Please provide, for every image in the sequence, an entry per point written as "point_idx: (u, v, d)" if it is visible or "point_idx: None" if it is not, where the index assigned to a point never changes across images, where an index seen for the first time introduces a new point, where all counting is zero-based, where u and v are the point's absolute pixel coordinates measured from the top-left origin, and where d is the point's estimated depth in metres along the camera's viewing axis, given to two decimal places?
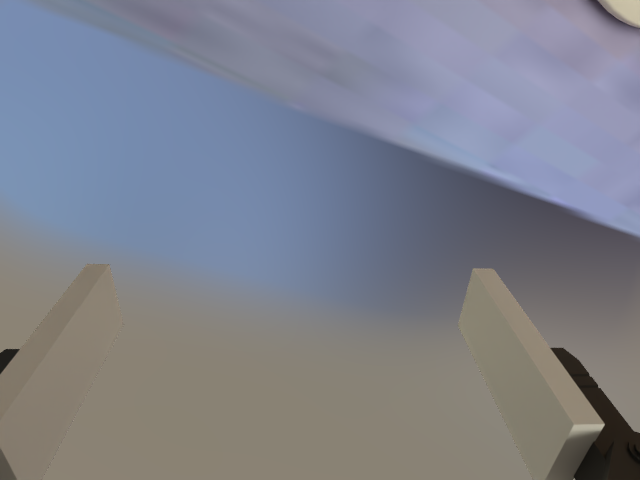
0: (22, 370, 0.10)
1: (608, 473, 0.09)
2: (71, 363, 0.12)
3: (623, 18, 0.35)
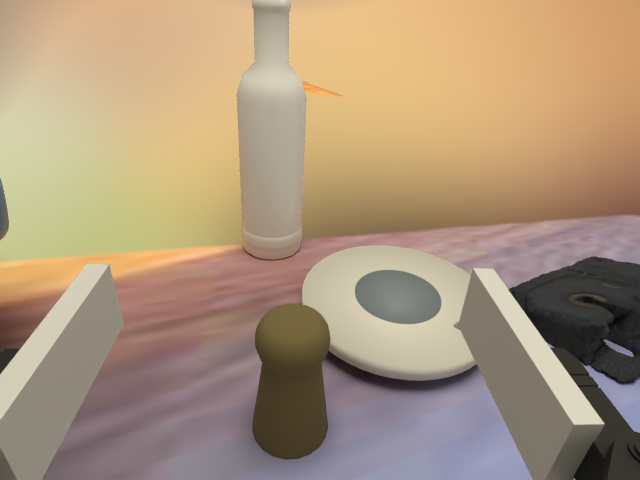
0: (22, 370, 0.10)
1: (608, 473, 0.09)
2: (71, 363, 0.12)
3: (462, 367, 0.37)
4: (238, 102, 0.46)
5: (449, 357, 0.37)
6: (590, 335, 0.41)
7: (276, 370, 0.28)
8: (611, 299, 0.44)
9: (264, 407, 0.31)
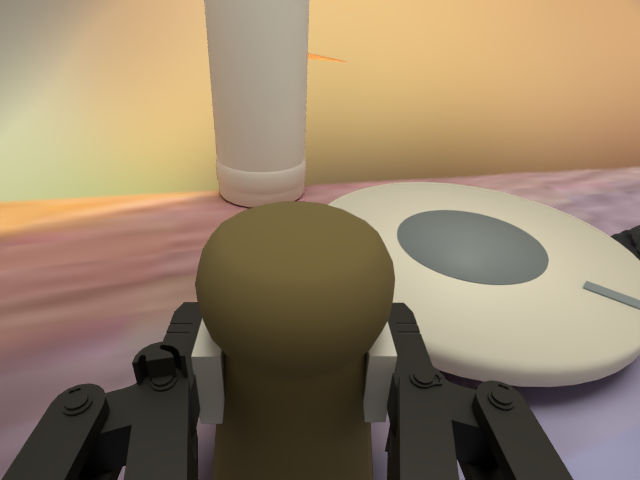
0: None
1: (399, 408, 0.10)
2: None
3: (624, 359, 0.19)
4: None
5: (600, 340, 0.19)
6: None
7: (251, 363, 0.10)
8: None
9: (229, 458, 0.13)
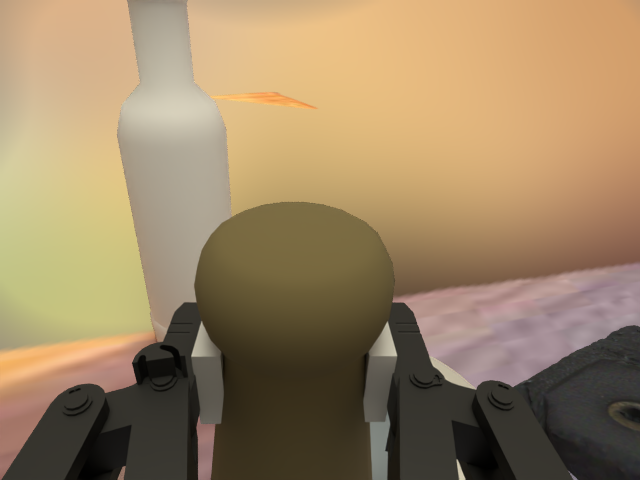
0: None
1: (399, 408, 0.10)
2: None
3: None
4: (119, 143, 0.30)
5: None
6: None
7: (250, 365, 0.10)
8: None
9: (228, 459, 0.12)
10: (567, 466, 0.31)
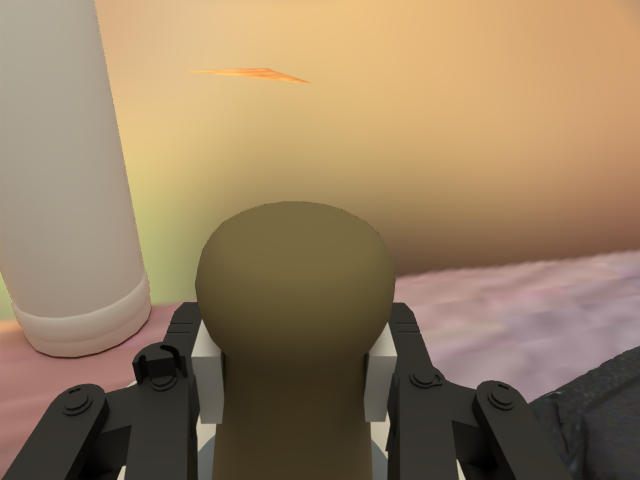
0: None
1: (399, 408, 0.10)
2: None
3: None
4: None
5: None
6: None
7: (251, 364, 0.10)
8: None
9: (228, 459, 0.12)
10: None
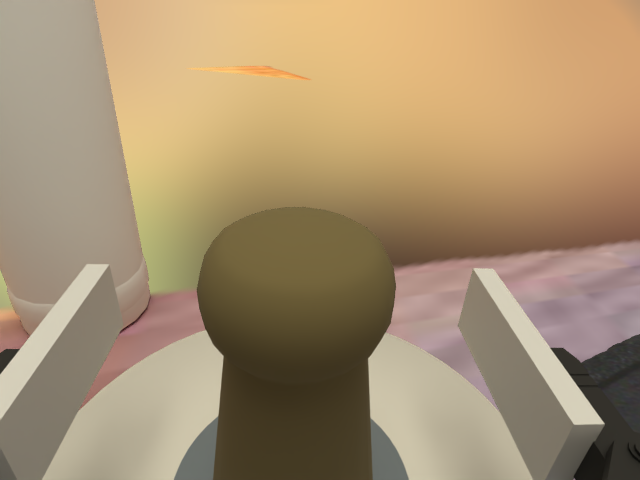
0: (22, 370, 0.10)
1: (608, 473, 0.09)
2: (71, 363, 0.12)
3: None
4: None
5: None
6: None
7: (252, 370, 0.10)
8: None
9: (229, 462, 0.13)
10: None
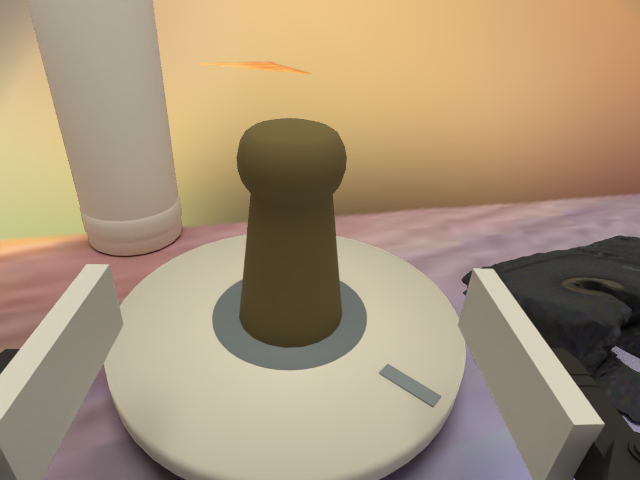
0: (22, 370, 0.10)
1: (608, 473, 0.09)
2: (71, 363, 0.12)
3: (384, 467, 0.18)
4: None
5: (356, 447, 0.18)
6: (586, 339, 0.24)
7: (268, 192, 0.19)
8: (630, 286, 0.28)
9: (253, 269, 0.22)
10: None
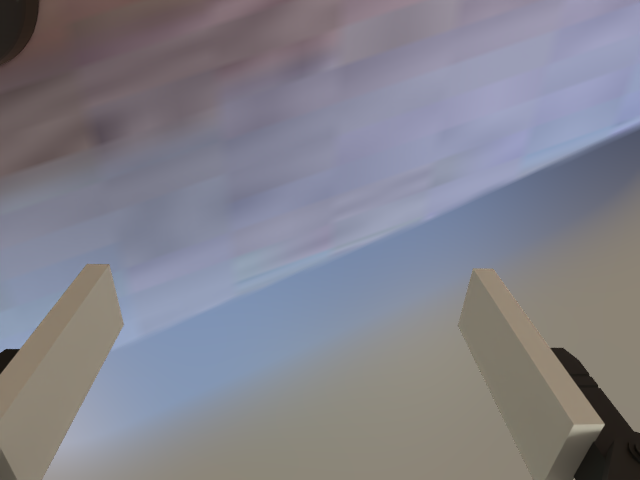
0: (22, 370, 0.10)
1: (608, 473, 0.09)
2: (71, 363, 0.12)
3: None
4: None
5: None
6: None
7: None
8: None
9: None
10: None
